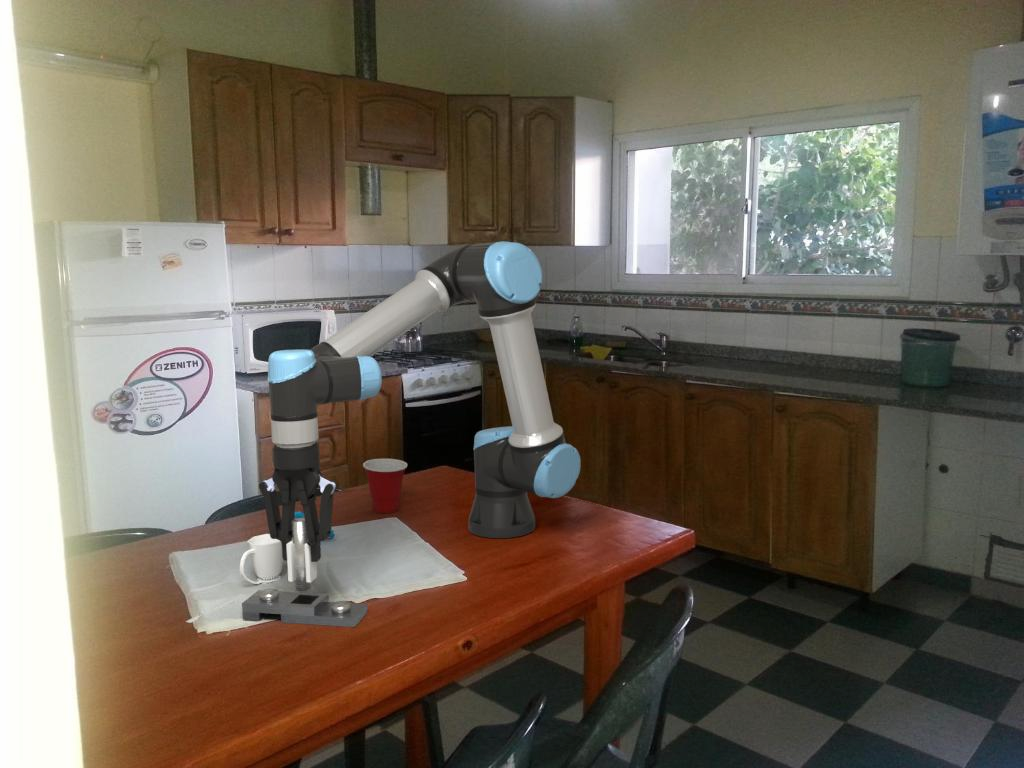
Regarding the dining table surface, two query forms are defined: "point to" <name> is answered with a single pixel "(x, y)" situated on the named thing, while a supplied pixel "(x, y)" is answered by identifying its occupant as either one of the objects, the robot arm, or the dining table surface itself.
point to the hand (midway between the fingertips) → (302, 578)
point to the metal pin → (300, 553)
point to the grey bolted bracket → (302, 608)
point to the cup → (264, 558)
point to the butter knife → (220, 605)
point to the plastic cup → (385, 483)
